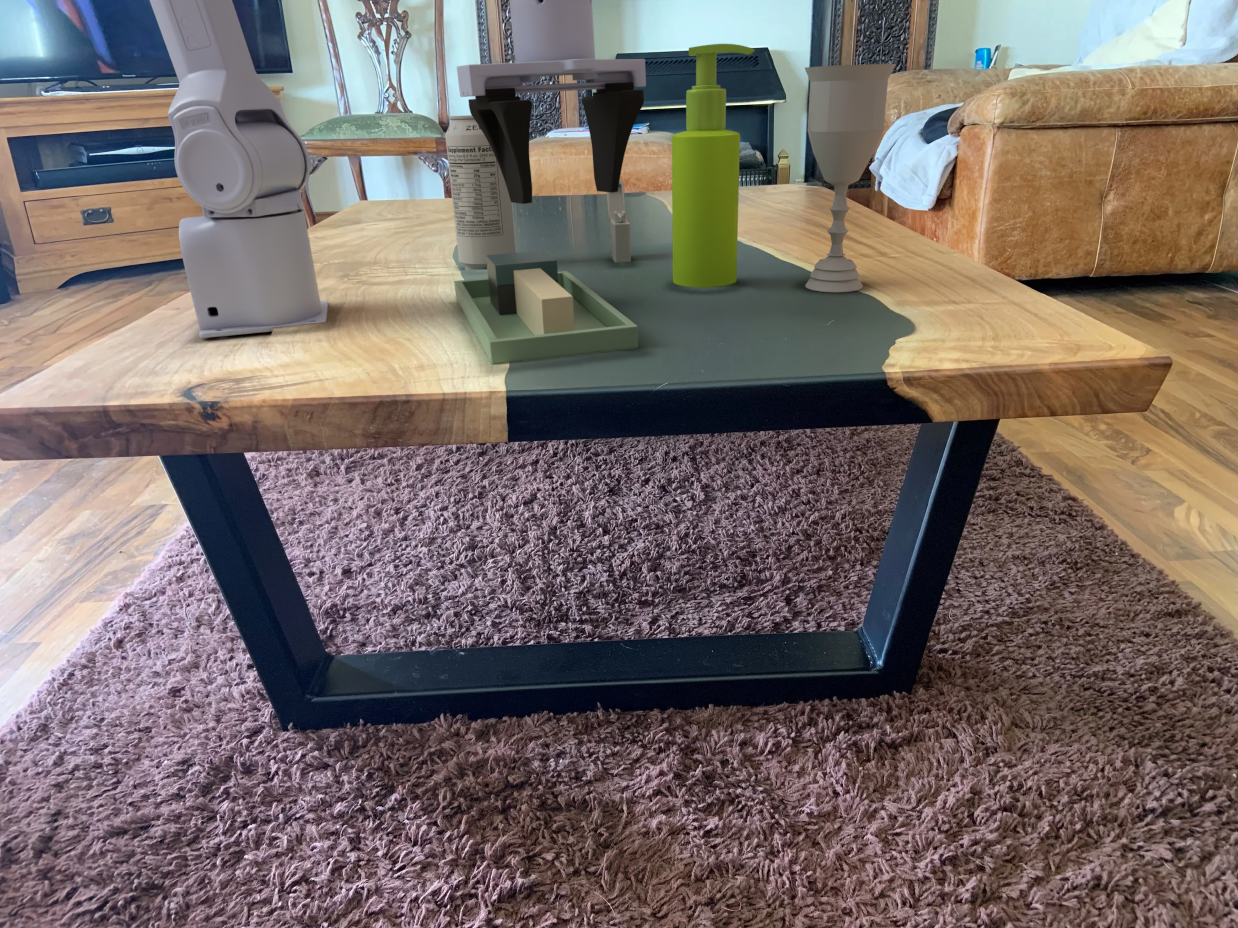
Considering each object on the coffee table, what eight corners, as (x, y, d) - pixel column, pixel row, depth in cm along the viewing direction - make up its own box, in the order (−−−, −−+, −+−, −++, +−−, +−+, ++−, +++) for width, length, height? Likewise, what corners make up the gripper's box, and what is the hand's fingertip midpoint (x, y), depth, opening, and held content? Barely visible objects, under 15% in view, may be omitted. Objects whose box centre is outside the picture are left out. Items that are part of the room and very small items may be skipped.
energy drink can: (526, 263, 90) (514, 114, 84) (500, 274, 85) (486, 116, 79) (477, 262, 92) (462, 115, 86) (449, 272, 87) (431, 117, 81)
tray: (639, 354, 58) (638, 326, 57) (492, 371, 55) (489, 342, 54) (568, 292, 76) (567, 270, 75) (456, 303, 74) (454, 281, 73)
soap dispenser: (745, 292, 74) (752, 41, 66) (668, 292, 75) (666, 45, 67) (749, 279, 79) (756, 44, 71) (677, 278, 80) (676, 48, 72)
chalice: (868, 278, 78) (888, 65, 71) (882, 294, 72) (905, 63, 64) (789, 278, 79) (800, 68, 71) (796, 295, 73) (808, 66, 65)
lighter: (631, 266, 87) (629, 186, 84) (614, 267, 87) (612, 186, 84) (624, 254, 94) (621, 179, 90) (608, 255, 93) (606, 180, 90)
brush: (594, 343, 59) (592, 287, 57) (524, 351, 57) (520, 293, 56) (547, 297, 73) (544, 250, 71) (490, 302, 71) (485, 255, 70)
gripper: (480, -18, 51) (505, 212, 56) (668, -14, 58) (673, 189, 64) (434, -4, 56) (460, 205, 62) (611, -2, 63) (621, 185, 69)
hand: (565, 197), depth 63 cm, fingers open, 7 cm apart
